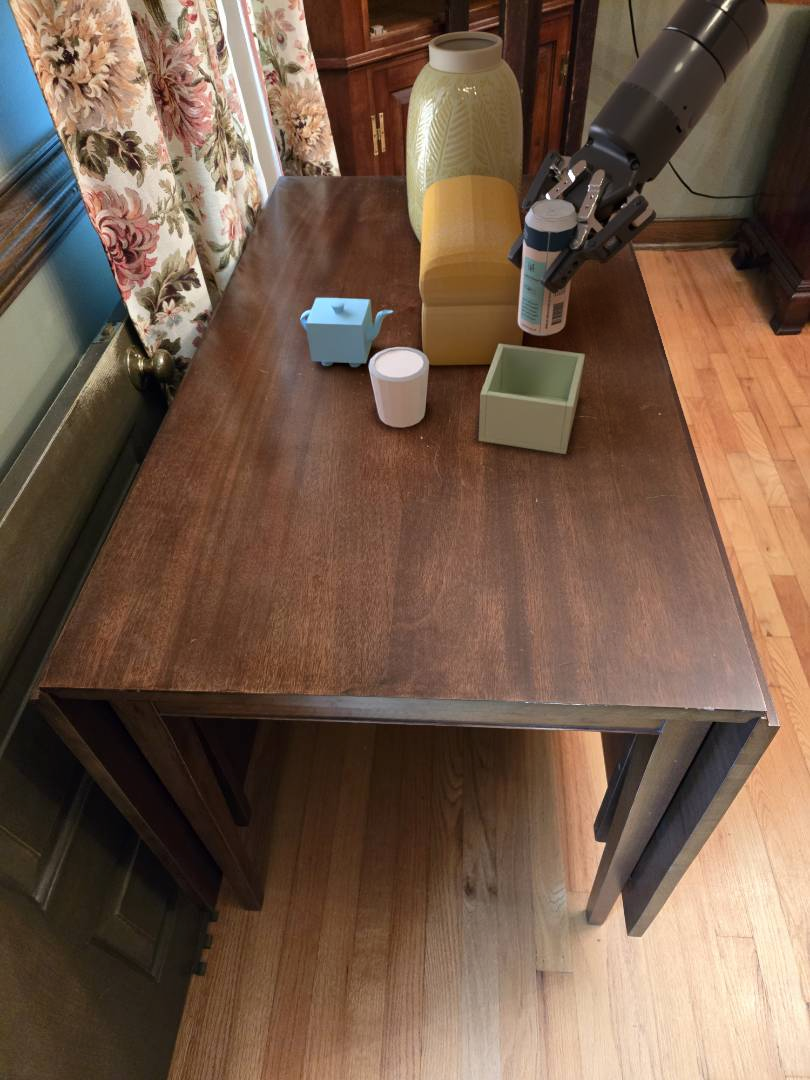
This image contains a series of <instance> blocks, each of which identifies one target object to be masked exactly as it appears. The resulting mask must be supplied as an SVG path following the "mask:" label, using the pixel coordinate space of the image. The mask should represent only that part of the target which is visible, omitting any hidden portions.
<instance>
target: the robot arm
mask: <svg viewBox="0 0 810 1080" xmlns="http://www.w3.org/2000/svg"><path fill="white" fill-rule="evenodd" d="M769 19H770V12H769V8H768V3H767V1H766V0H682V1H681V3H680V4H679V6H678V7H677V8H676V10H675V12H673V14H672V15H671V17H669V20H668V21H667V22H666V24H665V25H664V27H663V28H662V30H661V31H660V32H659V33H658V35H657V36H656V37H655V39H654V40H653V41H652V42H651V43H650V44H648V46H647V47H646V48H645V50H644V51H642V53H641V54H640V55H639V56H638V58H637V59H636V60H635V61H634V63H633V64H632V66H631V67H630V68H629V70H628V72H627V73H626V74H625V76H624V77H623V79H622V80H621V81H620V83H619V84H618V86H617V87H616V89H615V90H614V91H613V93H612V94H611V95H610V97H608V99H607V101H606V102H605V103H604V105H603V107H601V108H600V111H599V112H598V113H597V115H596V116H595V117H594V119H593V121H592V122H591V123H590V124H589V126H588V130H587V131H588V136H587V141H586V142H585V144H584V145H582V147H581V148H580V149H579V150H577V151H576V152H574V154H572V156H567V155H566V156H565V155H561V154H560V153H559V152H558V150H557V149H553V148H552V149H550V150H549V151H548V152H547V154H546V155H545V157H544V160H543V161H542V164H541V166H540V168H539V169H538V171H537V173H536V175H535V178H534V180H533V182H532V183H531V185H530V187H529V189H528V192H527V194H526V196H525V198H524V199H523V202H522V204H521V207H522V209H523V210H524V211H525V213H526V215H527V214H528V212H529V210H530V208H531V206H532V205H533V204H534V203H536V202H538V201H542V200H546V199H561V200H564V201H567V202H569V203H572V205H573V206H574V208H575V212H576V215H577V227H576V229H575V232H574V234H573V236H572V238H571V241H570V243H569V246H570V248H569V249H568V248H567V247H564V248H563V250H562V251H561V252H560V254H559V255H558V256H557V258H556V259H555V260H554V262H553V263H552V264H551V266H550V267H549V268H548V270H547V271H546V272H545V274H544V275H543V276H542V278H541V280H540V282H541V284H542V285H543V286H544V287H545V288H547V289H548V290H549V291H550V292H552V293H557V292H558V291H559V290H561V289H563V288H564V287H565V286H566V285H567V283H568V282H569V281H570V280H571V281H572V279H573V277H574V276H575V275H576V273H577V272H578V271H579V269H580V268H581V267H582V265H583V264H584V263H586V262H589V261H597V262H599V264H601V265H604V264H607V263H608V262H610V260H612V259H613V258H614V257H615V256H616V255H617V254H618V253H619V252H620V251H621V250H622V249H624V248H625V247H626V246H627V245H628V244H629V243H631V241H633V240H634V239H635V238H636V237H637V236H638V235H639V234H640V233H642V231H644V230H645V229H646V228H647V227H649V225H650V224H652V223H653V222H654V220H655V219H656V217H657V212H656V211H655V209H654V207H653V205H652V204H651V203H650V201H649V200H647V199H646V197H645V196H643V195H642V193H643V189H644V186H645V185H646V183H650V182H653V181H654V180H656V178H657V177H658V176H659V175H660V173H661V172H662V171H663V169H664V168H665V167H666V166H667V164H668V163H669V162H670V160H671V159H672V158H673V156H674V155H675V154H676V152H677V151H678V150H679V149H680V148H681V146H682V145H683V143H684V142H685V141H686V139H687V138H688V137H689V136H690V134H691V133H692V131H694V129H695V128H696V127H697V125H698V124H699V122H700V121H701V120H702V119H703V117H704V116H705V114H706V113H707V112H708V110H709V109H710V108H711V106H712V104H713V103H714V102H715V101H714V100H715V99H716V98H717V96H718V95H719V92H720V91H721V89H722V88H723V87H724V85H725V84H726V82H728V80H729V79H730V77H731V76H732V75H733V73H734V72H735V71H736V69H737V68H738V67H739V66H740V65H741V63H742V62H743V60H745V58H746V56H748V54H749V53H750V52H751V50H752V49H753V48H754V46H755V45H756V43H757V42H758V41H759V40H760V38H761V37H762V35H763V33H764V32H765V30H766V28H767V26H768V23H769ZM540 197H541V198H540ZM539 198H540V200H539ZM562 198H563V199H562ZM523 241H524V229H522V233H521V234H520V236H519V237H518V238H517V240H516V242H514V244H513V245H512V247H511V249H510V251H509V252H510V253H509V254H508V260H509V261H510V262H511V263H513V264H514V265H515V266H516V267H518V268H519V269H521V268H522V254H523Z"/></svg>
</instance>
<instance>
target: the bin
mask: <svg viewBox="0 0 810 1080" xmlns="http://www.w3.org/2000/svg"><path fill="white" fill-rule="evenodd" d="M585 357H586V354H585V353H579V352H571V351H564V350H562V351H561V350H556V349H547V348H539V347H531V346H524V345H522V346H516V345H508V344H500V343H499V345H498V348H497V350H496V353H495V356H494V358H493V361H492V364H490V366H489V369H488V372H487V374H486V378H485V381H484V383H483V386H482V388H481V391H480V395H479V419H478V420H479V421H478V441H479V442H483V443H489V444H490V443H491V444H495V445H503V446H509V447H510V446H511V447H516V448H523V449H529V450H535V451H541V452H547V453H548V452H549V453H555V454H560V455H561V454H562V455H567V451H568V445H569V442H570V437H571V433H572V428H573V423H574V419H575V415H576V410H577V406H578V402H579V394H580V388H581V383H582V377H583V376H582V375H583V371H584V365H585V364H584V363H585Z"/></svg>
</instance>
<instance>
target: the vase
mask: <svg viewBox="0 0 810 1080" xmlns="http://www.w3.org/2000/svg"><path fill="white" fill-rule="evenodd" d="M503 42H504V41H503V38H502V37H501V36H499V35H497V34H494V33H491V32H485V31H476V30H475V31H474V30H473V31H471V30H470V31H469V30H468V31H467V30H466V31H454V32H448V33H445V34H441V35H437V36H435V37H434V38H432V39H431V40H430V41H429V44H428V50H429V53H428V54H429V55H428V57H429V61H427V62H426V64H425V65H423V67H422V68H421V70H420V71H419V72H418V75H417V76H416V78H415V80H414V82H413V85H412V90H411V92H410V97H409V101H408V102H409V103H408V110H407V111H408V112H407V120H406V121H407V122H406V134H405V135H406V137H405V138H406V139H405V182H406V184H405V185H406V186H405V187H406V200H407V211H408V218H409V222H410V226H411V228H412V231H413V233H414V234H415V236H416V238H417V240H418V242H419V243H420V245H421V239H422V219H423V201H424V196H425V193H426V191H427V190H428V188H429V187H430V186H431V185H432V184H434V183H435V182H438V181H440V180H444V179H448V178H453V177H458V176H465V175H480V176H487V177H495V178H500V179H503V180H506V181H507V182H509V183H510V184H511V185H512V186H513V188H514V189H515V192H516V196H517V203H518V209H519V210H520V206H521V195H522V185H523V168H524V167H523V164H524V121H523V118H524V117H523V105H522V97H521V90H520V85H519V83H518V80H517V77H516V75H515V74H514V71H513V70H512V68H511V67H510V65H509V63H508V62H506V61H505V60H504V59H503V57H502V56H503V45H504V44H503Z"/></svg>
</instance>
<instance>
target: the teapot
mask: <svg viewBox="0 0 810 1080" xmlns="http://www.w3.org/2000/svg"><path fill="white" fill-rule="evenodd" d="M393 313H394V310H392V309H383V310H380V311H379V312H378V313H377V314H376V316H375V318H374V322H373V313H372V301H371V299H369V298H347V297H346V298H344V297H342V298H340V297H316V298H315V299H314V302H313V304H312V307H311V309H307V310H305V311H304V312H303V313H302V314H301V317H300V324H301V326H302V327H303V329H304V330H305V331H306V336H307V341H308V347H309V354H310V360H311V362H319V363H320V362H321V365H322V366H324V367H329V366H332V365H333V364H334V363H344V364H347V363H348V365H349V366H350V367H351V368H358V367H360V366H361V364H367V361H368V358H369V354H370V350H371V348H372V344H373V341H374V340H376V338H377V337H378V336H379V333H380V331H381V327H382V323H383V321H384V319H385V317H387V316H388V315H390V314H393ZM306 317H307V319H306Z"/></svg>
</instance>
